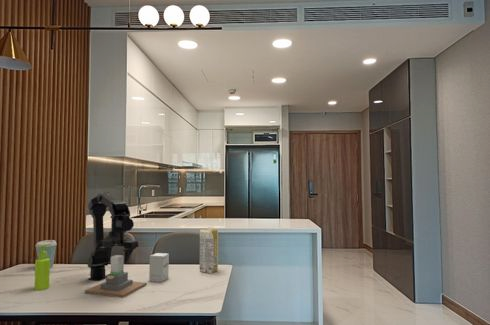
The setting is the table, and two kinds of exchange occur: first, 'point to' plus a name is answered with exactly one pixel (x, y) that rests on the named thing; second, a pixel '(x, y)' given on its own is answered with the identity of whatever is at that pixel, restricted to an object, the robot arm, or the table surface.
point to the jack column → (117, 265)
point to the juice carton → (208, 250)
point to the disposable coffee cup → (48, 250)
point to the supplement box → (159, 267)
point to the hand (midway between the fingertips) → (117, 262)
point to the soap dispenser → (42, 269)
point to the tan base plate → (116, 286)
